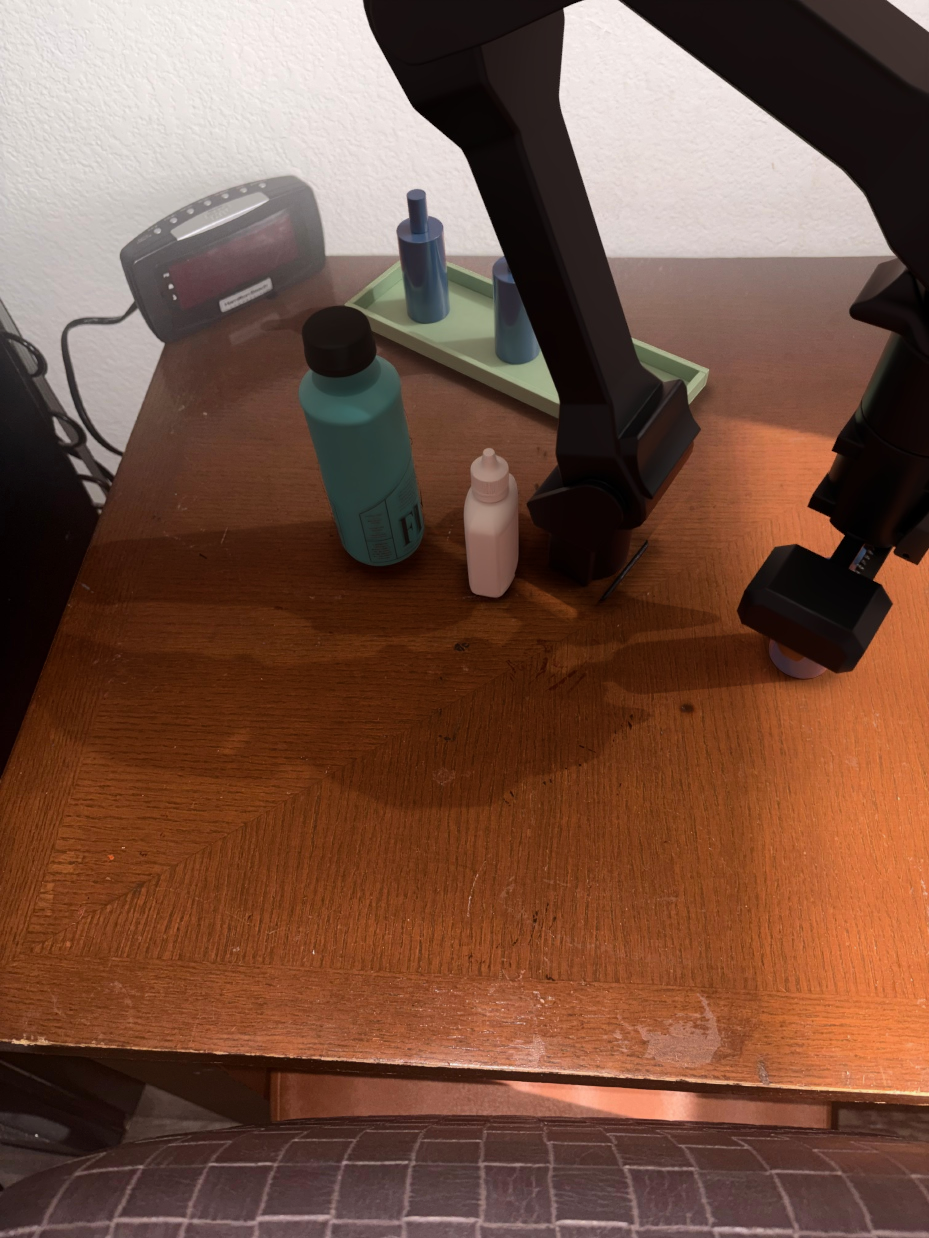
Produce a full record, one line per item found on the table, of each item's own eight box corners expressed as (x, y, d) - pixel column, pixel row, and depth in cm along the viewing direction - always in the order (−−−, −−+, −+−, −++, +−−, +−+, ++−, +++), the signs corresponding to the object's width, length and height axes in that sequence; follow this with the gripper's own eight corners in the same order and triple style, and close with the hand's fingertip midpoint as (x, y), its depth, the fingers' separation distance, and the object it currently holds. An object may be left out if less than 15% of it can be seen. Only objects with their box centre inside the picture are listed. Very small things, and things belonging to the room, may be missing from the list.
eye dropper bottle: (541, 560, 62) (545, 443, 52) (490, 608, 60) (484, 495, 50) (497, 530, 64) (493, 411, 54) (446, 576, 62) (431, 461, 52)
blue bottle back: (431, 329, 76) (419, 213, 67) (397, 314, 78) (381, 198, 68) (458, 305, 78) (450, 189, 69) (425, 291, 79) (412, 175, 70)
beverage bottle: (417, 586, 62) (378, 368, 45) (330, 574, 63) (260, 356, 46) (437, 518, 65) (407, 291, 48) (354, 508, 66) (297, 283, 49)
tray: (641, 465, 67) (645, 444, 65) (347, 325, 78) (343, 304, 76) (704, 391, 71) (709, 369, 69) (416, 269, 82) (414, 247, 81)
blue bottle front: (814, 689, 55) (873, 593, 46) (757, 659, 57) (803, 559, 48) (840, 647, 57) (901, 545, 48) (784, 618, 58) (834, 514, 49)
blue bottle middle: (523, 370, 72) (523, 254, 63) (485, 353, 74) (480, 237, 65) (549, 345, 74) (553, 228, 65) (512, 329, 76) (510, 212, 66)
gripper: (1043, 640, 32) (892, 793, 45) (1171, 365, 40) (1010, 564, 53) (771, 512, 36) (704, 687, 49) (934, 285, 44) (839, 488, 57)
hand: (823, 603), depth 52 cm, fingers open, 9 cm apart
